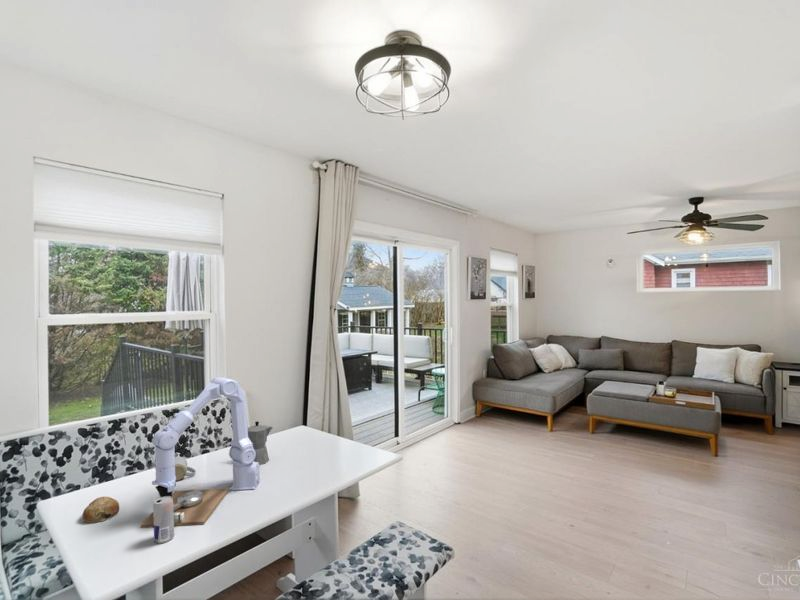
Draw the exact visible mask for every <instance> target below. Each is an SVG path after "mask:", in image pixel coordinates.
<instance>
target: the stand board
mask: <svg viewBox="0 0 800 600" xmlns="http://www.w3.org/2000/svg"><path fill="white" fill-rule="evenodd" d="M191 491H200V492H202V493H203V501H202V502H201V503H199V504H198V505H195V506H193V507H188V508H181V507H180V508H178V509H176V510H175V511H174V527H178V526H179V527H180V526H181V527H183V526H198V525H199V526H201V525H205V523H207V521H208V520H209V519H210V517H211V516H212V515H213V513H214V511H216V510H217V507H218V506H219V505H221V503H222V502H223V500H224V498H225V497H226V496H227V495H228V493H229V492H230V488H226V487H225V488H209V489H208V488H207V489H204V488H203V489H185V490H184V489H182V490H175V491H173V492H172V499H173V505H175V504H177V499H178V497H179V496H180V495H182V494H184V493H187V492H191ZM140 528H141V529H142V528H154V517H153V512H151V514H150V515H149V516H148V517H147V518H146V519H145V520H143V521H142V522H141V523H140Z"/></svg>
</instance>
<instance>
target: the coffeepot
mask: <svg viewBox="0 0 800 600" xmlns="http://www.w3.org/2000/svg"><path fill="white" fill-rule="evenodd" d="M254 423H255V425H252V426H249V427H247V429H248V438H249V439H250V441H251V442H252V444H253V449H254V450H255V452H256V456H255V459H254V462H258V463H259V466H261V465H265V464H266V463H268V462H269V461H270V459H269V453H268V449H267V446H266V445H267V444H266V443H267V441H268V436H269V433H270V432H271V431H272V430H273V427H272V426H267V425H266V424H259V423H260V421H257V420H256V421H255V422H254Z"/></svg>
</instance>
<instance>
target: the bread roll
mask: <svg viewBox="0 0 800 600" xmlns="http://www.w3.org/2000/svg"><path fill="white" fill-rule="evenodd" d="M82 511H83V513H82V519H83V522H86V523H91V524H93V523H95V524H96V523H102V522H104V521H106V520H108V519H111V518H112V517H114V516H116V515H117V514H118V513H119V511H120V503H119V502H118V500H116V499H114V498H113V497H110V496H99V497H97V498H96V499H94V500H92V501H91V502H90V503H89V504H88V505H87V507H85V508H84V510H82Z"/></svg>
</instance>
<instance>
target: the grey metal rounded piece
mask: <svg viewBox="0 0 800 600" xmlns="http://www.w3.org/2000/svg"><path fill="white" fill-rule="evenodd" d="M202 501H203V493H202V492H200V491H191V492H187V493H184V494H182V495H180V496H179V497H178V499H177V504H175V505H173V511H175V510H176V509H178V508H180V507H181V508H188V507H193V506H195V505H198V504H199V503H201V502H202Z"/></svg>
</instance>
